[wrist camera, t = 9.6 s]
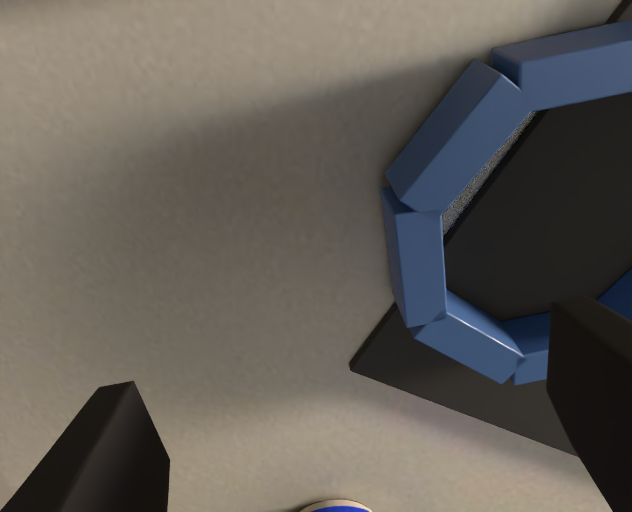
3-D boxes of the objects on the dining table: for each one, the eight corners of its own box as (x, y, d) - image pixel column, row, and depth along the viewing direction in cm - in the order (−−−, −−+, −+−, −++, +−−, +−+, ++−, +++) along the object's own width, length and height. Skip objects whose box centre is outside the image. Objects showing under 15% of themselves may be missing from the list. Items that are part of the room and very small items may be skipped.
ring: (402, 368, 22) (415, 406, 20) (365, 73, 16) (379, 91, 14) (689, 310, 22) (727, 343, 20) (760, -8, 16) (821, 0, 14)
